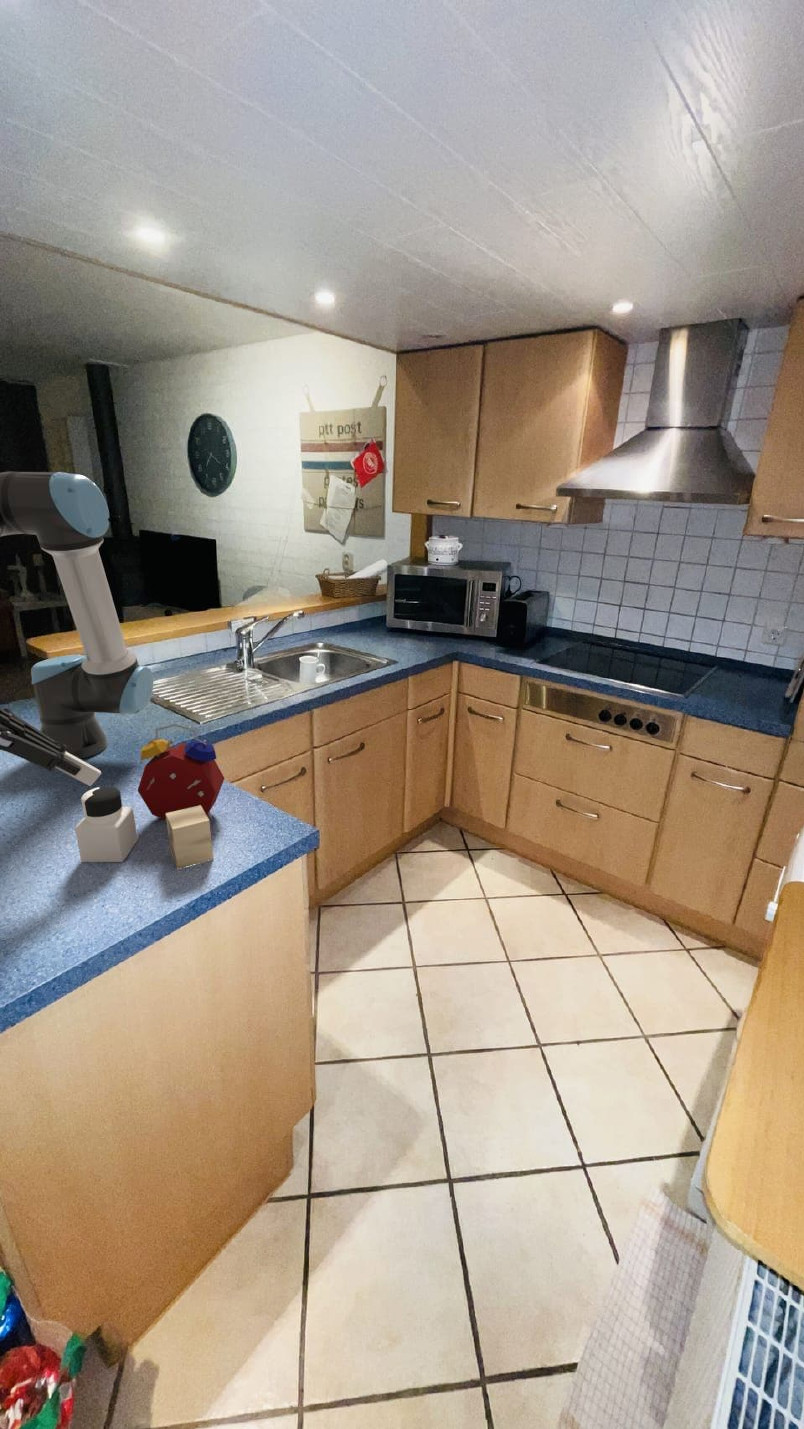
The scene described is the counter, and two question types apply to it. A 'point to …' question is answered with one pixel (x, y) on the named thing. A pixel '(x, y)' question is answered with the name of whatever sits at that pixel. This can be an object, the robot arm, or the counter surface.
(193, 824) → the beech block
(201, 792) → the alarm clock
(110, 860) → the medicine bottle
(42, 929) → the counter surface
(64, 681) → the robot arm
